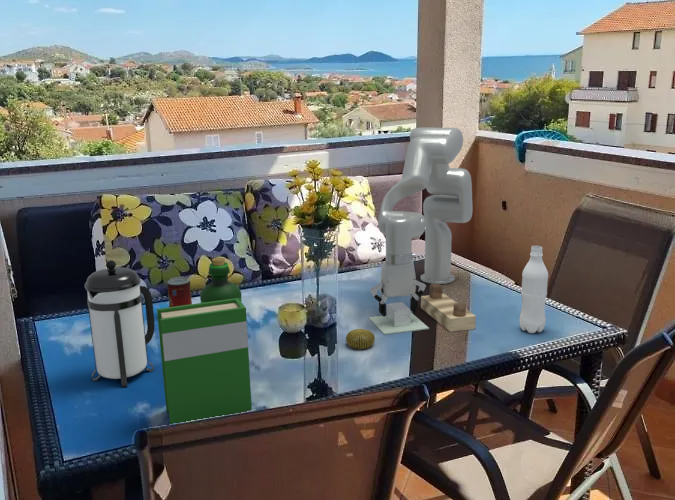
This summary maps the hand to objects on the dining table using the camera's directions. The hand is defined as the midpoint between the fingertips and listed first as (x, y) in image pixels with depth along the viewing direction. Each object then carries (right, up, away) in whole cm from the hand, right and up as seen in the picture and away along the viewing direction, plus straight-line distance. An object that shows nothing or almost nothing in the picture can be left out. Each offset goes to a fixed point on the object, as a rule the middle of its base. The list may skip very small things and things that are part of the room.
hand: (398, 313), depth 188 cm
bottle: (-48, -11, -24) cm, 54 cm away
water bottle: (+38, -4, -6) cm, 39 cm away
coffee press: (-72, -12, -29) cm, 79 cm away
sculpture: (-12, -8, -14) cm, 20 cm away
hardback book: (-47, -17, -49) cm, 70 cm away
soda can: (-68, -2, +11) cm, 69 cm away
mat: (0, -3, +1) cm, 3 cm away
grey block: (0, -3, +1) cm, 3 cm away
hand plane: (+15, -2, +5) cm, 16 cm away
